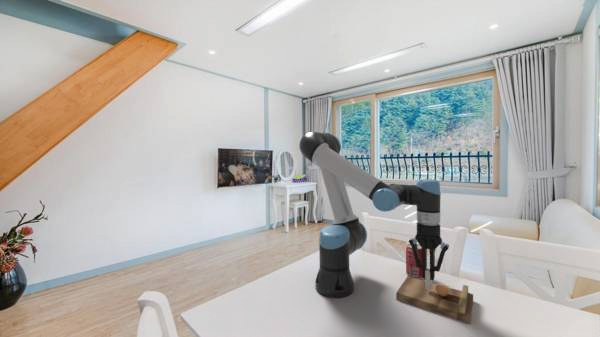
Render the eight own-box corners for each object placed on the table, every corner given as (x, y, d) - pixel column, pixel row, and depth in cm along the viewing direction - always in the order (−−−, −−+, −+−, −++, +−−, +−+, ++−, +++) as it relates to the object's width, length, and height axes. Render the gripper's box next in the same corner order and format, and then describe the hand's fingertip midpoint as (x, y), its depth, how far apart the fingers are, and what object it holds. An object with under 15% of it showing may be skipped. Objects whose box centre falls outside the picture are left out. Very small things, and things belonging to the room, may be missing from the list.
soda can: (426, 280, 102) (426, 249, 102) (407, 278, 104) (408, 248, 103) (421, 272, 109) (421, 243, 108) (404, 271, 110) (404, 242, 110)
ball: (450, 296, 83) (439, 299, 85) (451, 291, 86) (440, 294, 88) (443, 285, 84) (432, 288, 86) (444, 280, 87) (434, 283, 90)
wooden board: (396, 299, 89) (396, 285, 89) (407, 282, 101) (407, 270, 100) (470, 323, 75) (470, 308, 75) (473, 301, 87) (473, 287, 87)
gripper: (406, 222, 89) (406, 286, 90) (447, 228, 81) (447, 298, 82) (411, 218, 95) (411, 278, 96) (450, 223, 87) (450, 288, 88)
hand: (428, 287), depth 89 cm, fingers closed
